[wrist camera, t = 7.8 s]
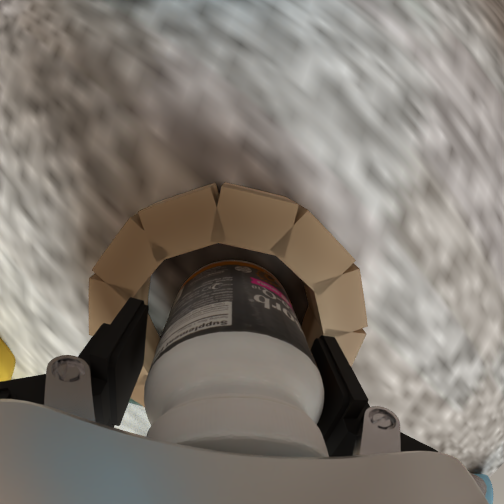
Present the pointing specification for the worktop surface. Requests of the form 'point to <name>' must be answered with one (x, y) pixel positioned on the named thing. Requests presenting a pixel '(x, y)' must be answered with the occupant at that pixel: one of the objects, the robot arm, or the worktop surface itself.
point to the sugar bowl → (489, 488)
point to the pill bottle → (235, 368)
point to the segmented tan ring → (239, 235)
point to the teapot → (6, 362)
